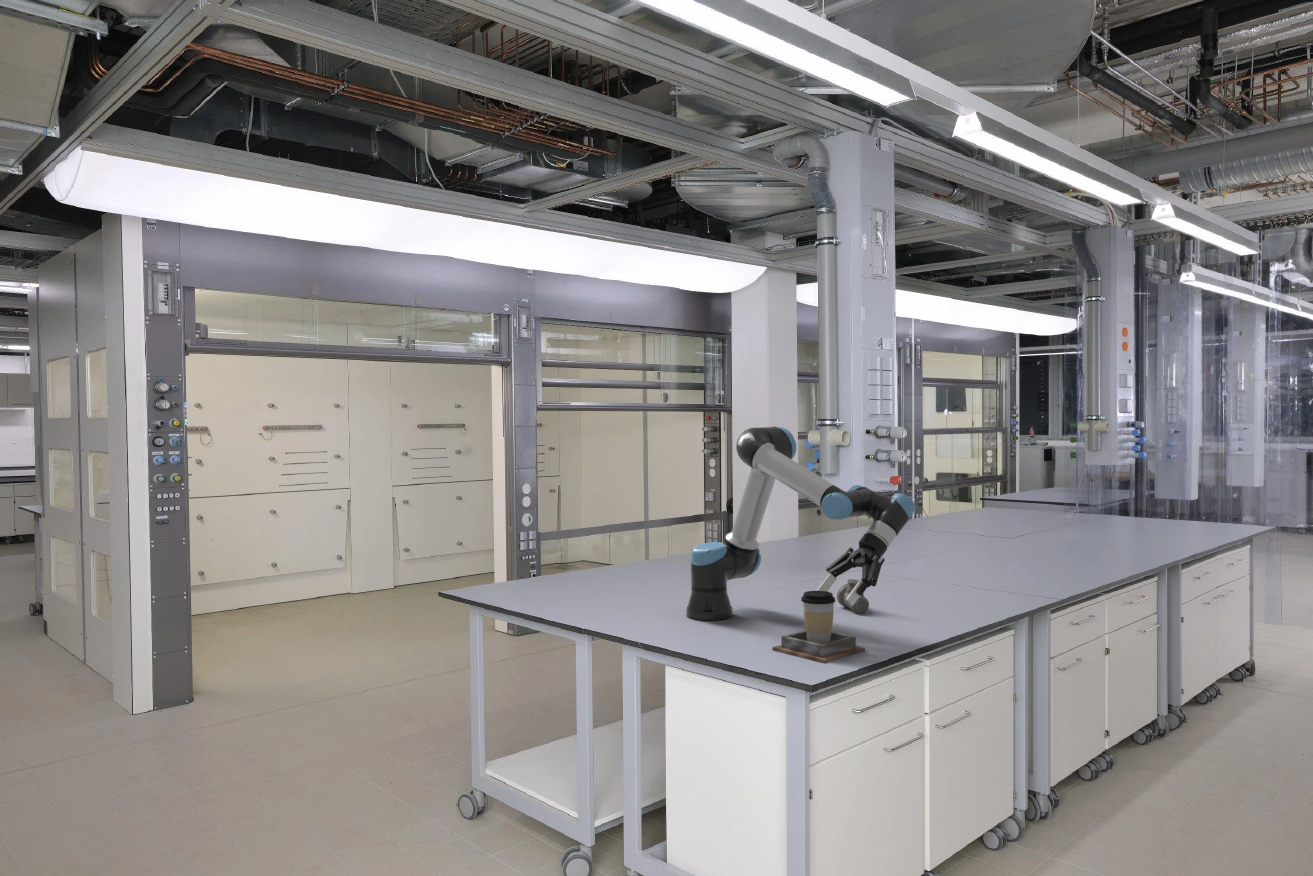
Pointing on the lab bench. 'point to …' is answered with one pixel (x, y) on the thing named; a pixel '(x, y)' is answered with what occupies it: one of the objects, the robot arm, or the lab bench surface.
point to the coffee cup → (818, 615)
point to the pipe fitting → (845, 590)
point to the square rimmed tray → (818, 647)
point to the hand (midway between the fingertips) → (834, 598)
